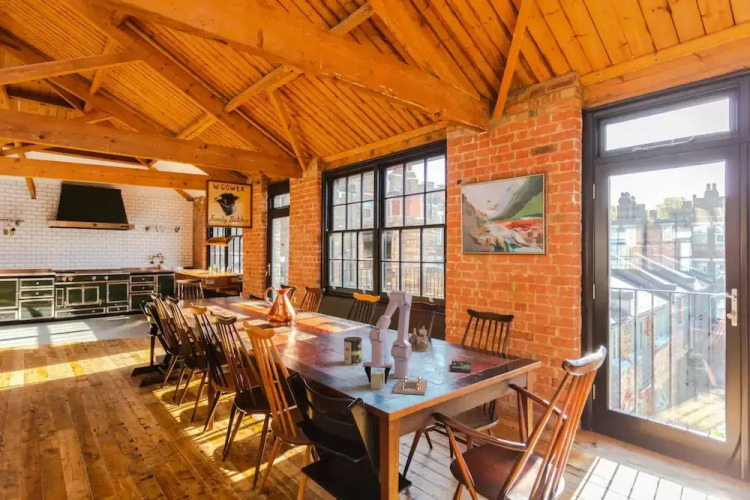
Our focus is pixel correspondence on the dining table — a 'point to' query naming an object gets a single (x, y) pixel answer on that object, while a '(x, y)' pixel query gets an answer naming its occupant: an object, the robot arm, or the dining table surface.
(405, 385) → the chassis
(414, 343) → the ceramic cottage
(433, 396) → the dining table surface
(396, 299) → the robot arm
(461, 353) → the dining table surface
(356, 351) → the coffee can
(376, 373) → the block
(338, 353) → the dining table surface
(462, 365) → the disk drive
